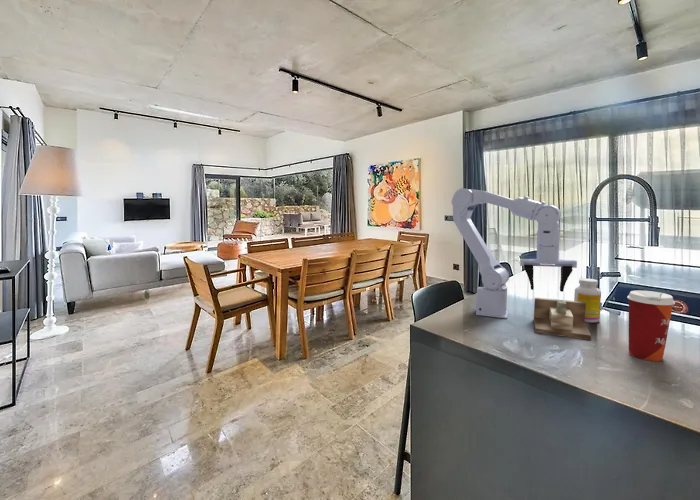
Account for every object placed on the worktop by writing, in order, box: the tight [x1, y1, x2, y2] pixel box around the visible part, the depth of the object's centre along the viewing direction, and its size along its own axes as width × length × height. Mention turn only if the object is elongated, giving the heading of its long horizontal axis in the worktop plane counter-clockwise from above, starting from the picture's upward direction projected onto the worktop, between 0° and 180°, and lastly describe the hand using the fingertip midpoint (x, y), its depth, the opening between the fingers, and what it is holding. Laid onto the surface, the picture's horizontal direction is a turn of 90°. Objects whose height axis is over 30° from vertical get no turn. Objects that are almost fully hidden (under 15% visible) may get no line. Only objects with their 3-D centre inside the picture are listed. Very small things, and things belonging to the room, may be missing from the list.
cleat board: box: [533, 297, 592, 340], centre depth 94 cm, size 13×12×7 cm
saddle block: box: [549, 299, 573, 330], centre depth 94 cm, size 5×8×7 cm, turn 153°
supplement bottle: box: [573, 277, 602, 324], centre depth 101 cm, size 7×7×13 cm
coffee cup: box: [626, 290, 676, 362], centre depth 76 cm, size 8×8×15 cm
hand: (546, 289), depth 99 cm, fingers open, 7 cm apart
